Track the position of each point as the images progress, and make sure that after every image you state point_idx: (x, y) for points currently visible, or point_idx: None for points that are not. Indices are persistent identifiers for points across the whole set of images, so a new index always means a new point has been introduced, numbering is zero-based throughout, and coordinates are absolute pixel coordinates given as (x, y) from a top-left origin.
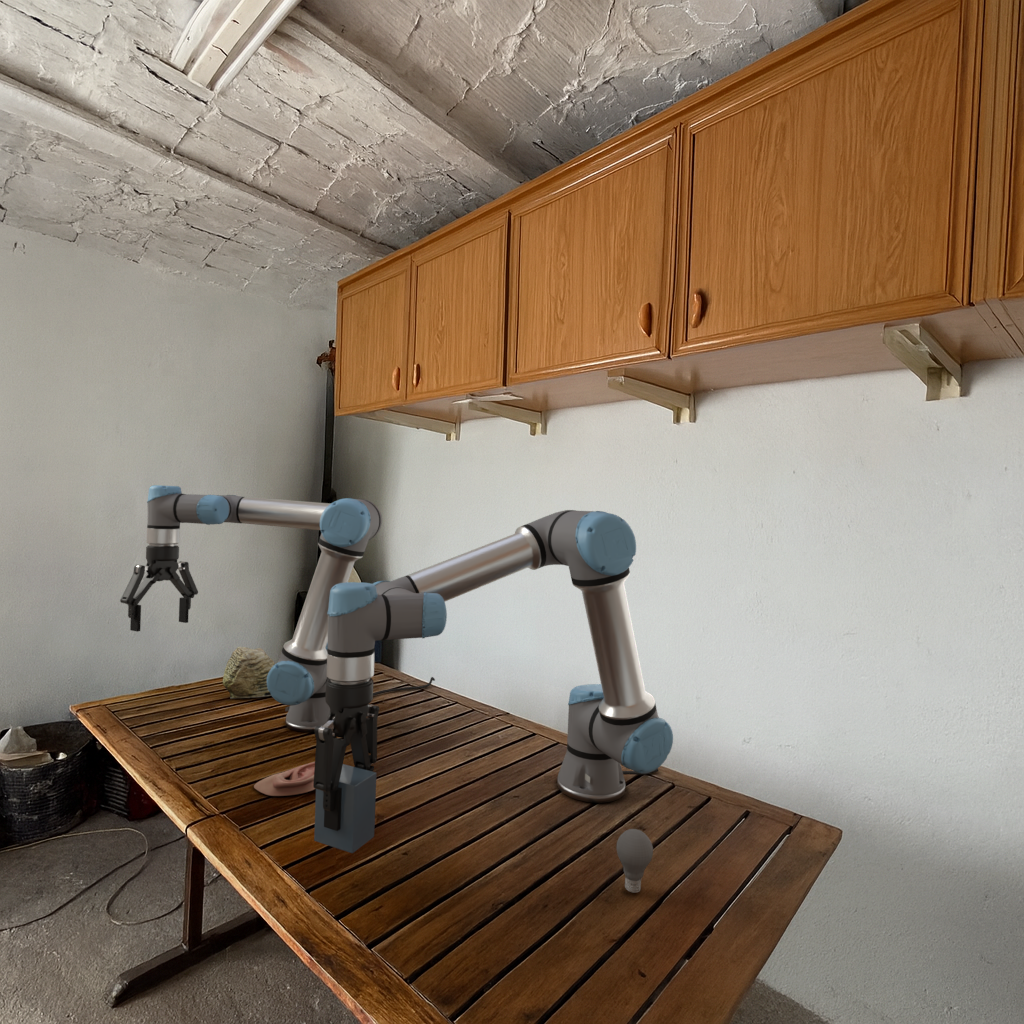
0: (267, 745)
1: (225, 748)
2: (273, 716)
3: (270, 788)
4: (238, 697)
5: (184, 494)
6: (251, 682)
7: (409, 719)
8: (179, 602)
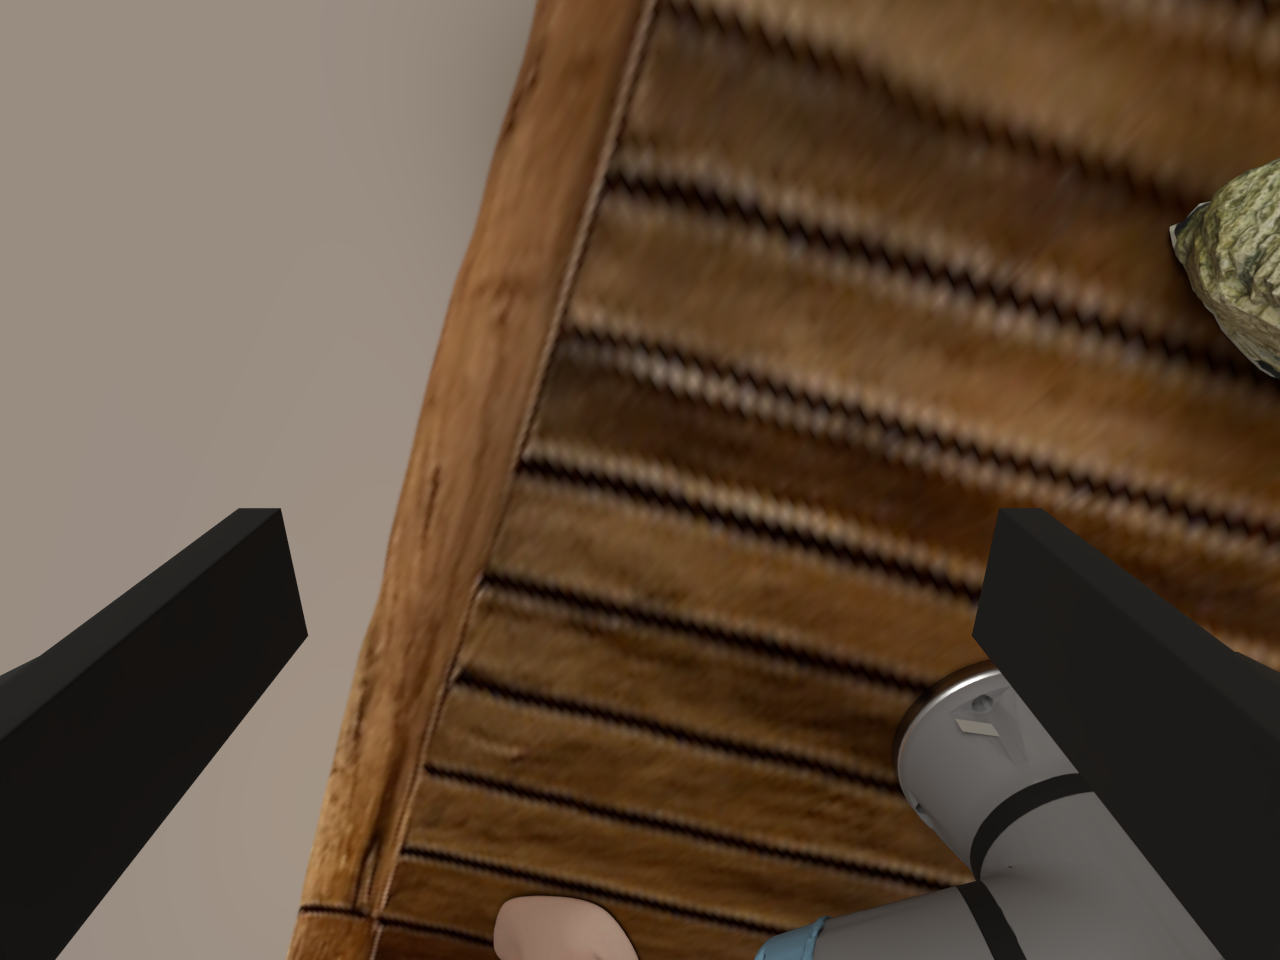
0: (745, 752)
1: (657, 671)
2: None
3: (504, 954)
4: (1185, 269)
5: None
6: (1273, 345)
7: None
8: (1237, 710)
